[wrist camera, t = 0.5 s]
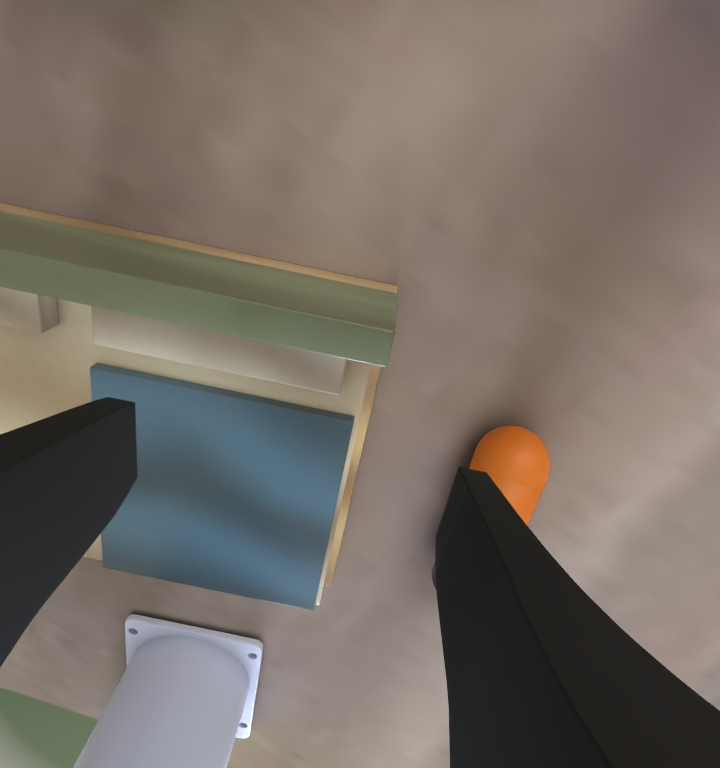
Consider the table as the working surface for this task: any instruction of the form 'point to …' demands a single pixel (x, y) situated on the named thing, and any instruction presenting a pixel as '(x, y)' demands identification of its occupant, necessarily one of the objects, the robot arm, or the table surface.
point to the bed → (201, 393)
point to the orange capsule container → (513, 467)
